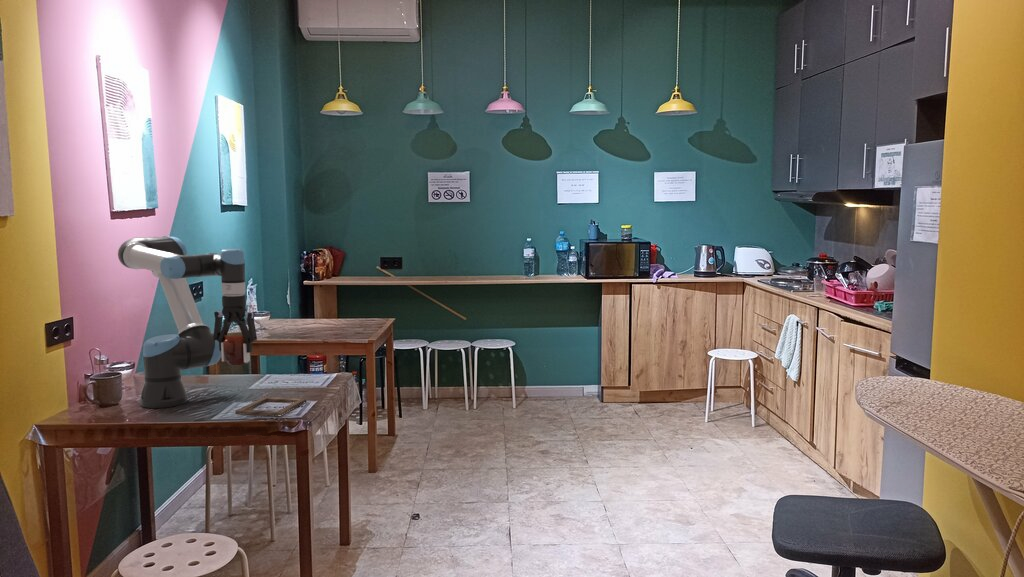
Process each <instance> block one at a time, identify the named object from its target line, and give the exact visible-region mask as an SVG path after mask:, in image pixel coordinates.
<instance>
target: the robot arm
mask: <svg viewBox="0 0 1024 577" xmlns="http://www.w3.org/2000/svg"><path fill="white" fill-rule="evenodd" d="M117 257H118V260H119V262H120V264H121V265H122V266H124V267H126V268H128V269H131V270H148V271H151V273H152V275H153V276H154V277H155V278H158V279H159V282H160V285H161V287H162V290H163V294H164V296H165V298H166V300H167V303H168V306H169V309H170V312H171V315H172V317H173V320H174V322H175V326H176V327H177V330H178V333H171V334H170V333H168V334H161V335H156V336H154V337H153V336H152V337H151V338H148V339H147V340H145V341H144V343H143V345H142V346H143V349H142V351H143V352H142V356H143V369H144V370H143V371H144V373H143V374H144V384H143V387H142V391H141V396H140V398H139V403H140V404H139V405H140V407H142V408H147V409H148V408H149V409H163V408H171V407H175V406H181V405H184V404H185V403H187V402H188V397H189V395H188V392H187V389H186V388H185V385H184V383H183V380H182V371H185V370H193V369H198V368H207V367H208V366H213V365H216V364H218V362H219V361H220V359H221V362H222V363H223V362H224V363H225V362H228V361H227V355H226V354H225V351H224V341H225V337H224V335H226V336H227V333H229V331H230V327H231V325H232V324H233V323H236V324H237V326H238V327H239V329H240V330H239V331H240V332H242V335H243V337H244V340H245V343H244V344H243V351H244V363H246V362H248V363H249V362H251V353H252V351H253V346H252V344H253V342H255V341H257V340H258V337H257V336H258V334H257V330H256V325H255V312H254V311H251V312H250V311H247V309H246V308H247V307H246V305H247V302H246V301H247V300H246V297H247V296H246V295H245V294H246V268H245V267H246V265H245V262H246V260H245V252H244V251H243V249H242V248H241V249H240V248H224V249H222V250H220V253H217V252H209V253H205V254H204V253H203V254H188V250H187V248H186V245H185V244H184V242H183V241H182V240H181V239H180V238H178V237H176V236H168V235H165V236H150V237H149V236H148V237H133V238H129V239H127V240H126V241H124V242H122V244H121V245H120V246H119V248H118V250H117ZM214 276H216V277H217V276H218V277H221V278H220V280H221V281H220V282H221V294H222V297H221V303H222V304H221V305H222V308H221V309H222V310H217V311H214V312H213V313H214V326H213V327H214V329H213V332H212V331H211V329H210V327H209V325H207V324H205V323H203V321H202V320H203V319H202V318H201V315H200V312H199V310H198V307H197V304H196V302H195V299H194V296H193V294H192V292H191V289H190V286H189V283H188V282H187V278H202V277H214ZM223 316H224V319H223ZM223 320H224V321H223ZM246 323H247V324H246Z"/></svg>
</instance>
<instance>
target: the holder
mask: <svg viewBox="0 0 1024 577" xmlns="http://www.w3.org/2000/svg"><path fill="white" fill-rule="evenodd" d="M270 401H272V403H273V402H274V403H275V402H276V403H289V402H292V403H289V404H288V405H287V406H285V407H283V408H281V409H279V410H276V411H275V410H257V409H253V408H256V407H258V406H260V405H262V404H264V403H266V402H270ZM293 402H294V403H293ZM304 402H305V403H306V402H307V398H296V397H295V398H294V397H293V398H291V397H276V396H275V397H273V396H270V397H269V396H263V397H261V398H259V399H257V400H255V401H252V402H251V403H249V404H246V405H245V406H242V407H241V408H238V409H235V411H234V413H236V414H235V415H248V414H250V415H251V416H265V415H274V416H273V417H279V416H278V415H282V414H283V415H285V414H287V413H288V412H287V411H289V410H291V409H292V410H294V409H296V408H298V407H300V406H301V405H303V404H305V403H304ZM299 405H300V406H299ZM297 406H298V407H297ZM295 407H296V408H295ZM293 408H294V409H293ZM292 410H291V411H292ZM286 412H287V413H286ZM289 412H290V411H289ZM284 413H285V414H284ZM250 415H249V416H250ZM275 415H277V416H275ZM283 415H282V416H283Z"/></svg>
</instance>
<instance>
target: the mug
mask: <svg viewBox="0 0 1024 577" xmlns="http://www.w3.org/2000/svg"><path fill="white" fill-rule="evenodd" d="M224 337H225V341H224V351H225V354H226V355H227V361H226V362H227V364H229V365H230V366H242V365H247V364H248V363H249V362H246V363H244V351H243V344H244V343H245V340H244V337H243V335H242V332H241V331H236V332H228V333H227V336H226V335H224Z"/></svg>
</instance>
